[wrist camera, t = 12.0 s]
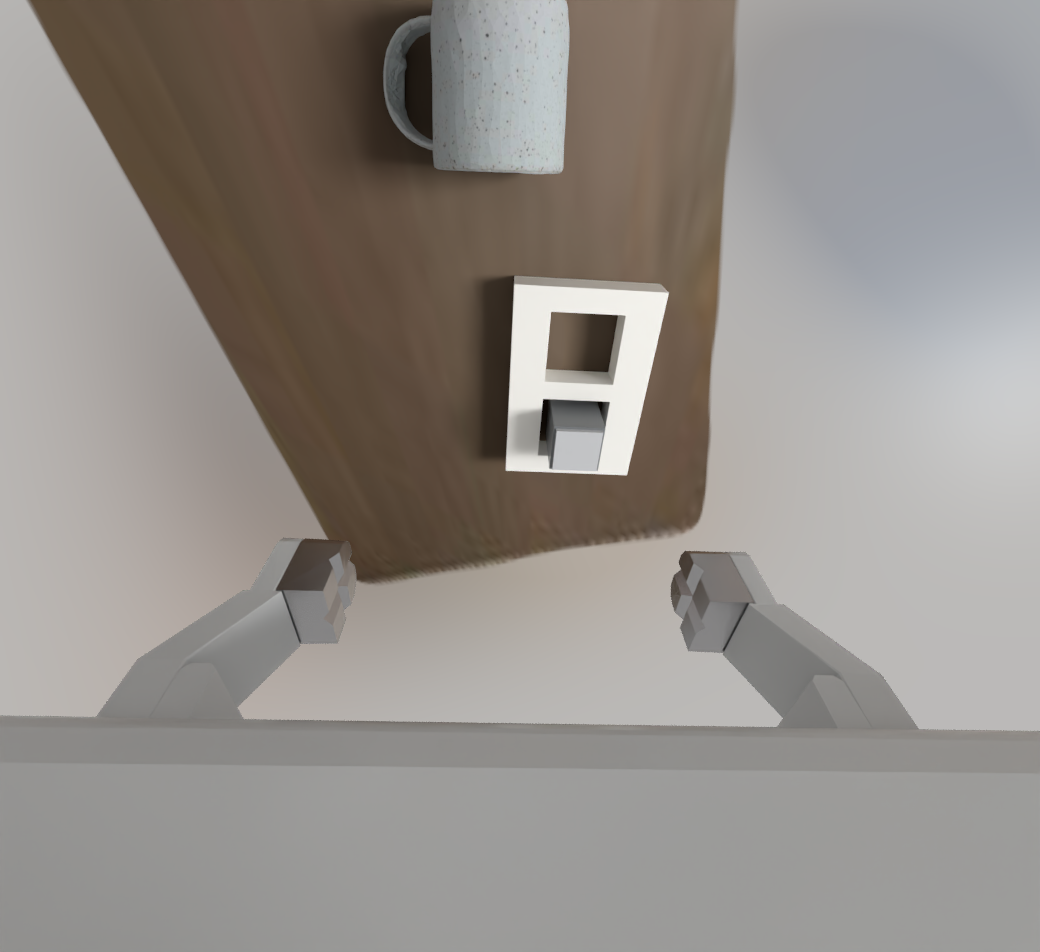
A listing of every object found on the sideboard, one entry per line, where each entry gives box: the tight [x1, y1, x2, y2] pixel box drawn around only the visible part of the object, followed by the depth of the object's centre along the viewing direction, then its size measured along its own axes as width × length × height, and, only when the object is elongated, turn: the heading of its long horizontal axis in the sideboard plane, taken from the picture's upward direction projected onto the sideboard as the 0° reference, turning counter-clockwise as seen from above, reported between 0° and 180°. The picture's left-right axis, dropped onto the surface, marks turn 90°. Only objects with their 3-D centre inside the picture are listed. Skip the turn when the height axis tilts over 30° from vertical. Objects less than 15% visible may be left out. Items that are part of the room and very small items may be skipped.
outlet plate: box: [506, 276, 669, 475], centre depth 39 cm, size 16×11×2 cm
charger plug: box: [546, 399, 605, 471], centre depth 40 cm, size 4×4×6 cm
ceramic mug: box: [383, 0, 569, 174], centre depth 26 cm, size 11×8×8 cm
